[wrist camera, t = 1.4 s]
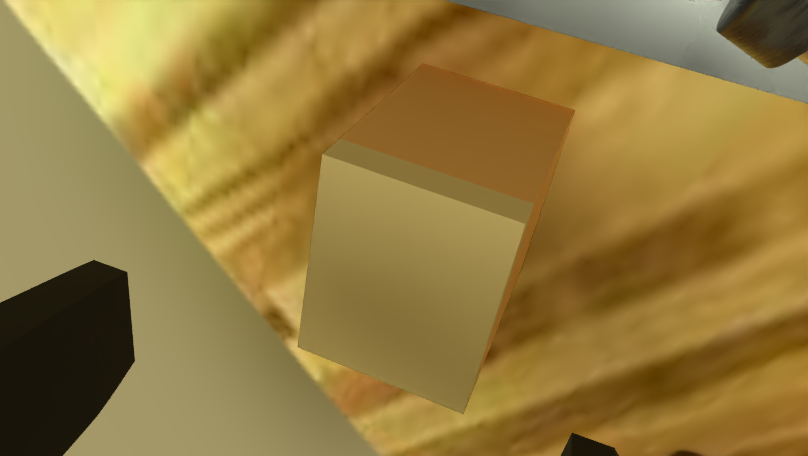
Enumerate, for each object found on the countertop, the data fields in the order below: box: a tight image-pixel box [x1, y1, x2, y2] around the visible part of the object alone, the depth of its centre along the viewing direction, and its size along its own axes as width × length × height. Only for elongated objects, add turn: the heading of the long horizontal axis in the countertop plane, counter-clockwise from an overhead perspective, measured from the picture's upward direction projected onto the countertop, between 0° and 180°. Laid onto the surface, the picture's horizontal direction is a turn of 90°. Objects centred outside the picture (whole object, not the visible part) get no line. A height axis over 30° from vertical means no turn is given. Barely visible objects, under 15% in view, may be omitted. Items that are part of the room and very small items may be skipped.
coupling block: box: [298, 64, 575, 414], centre depth 17 cm, size 4×5×6 cm
